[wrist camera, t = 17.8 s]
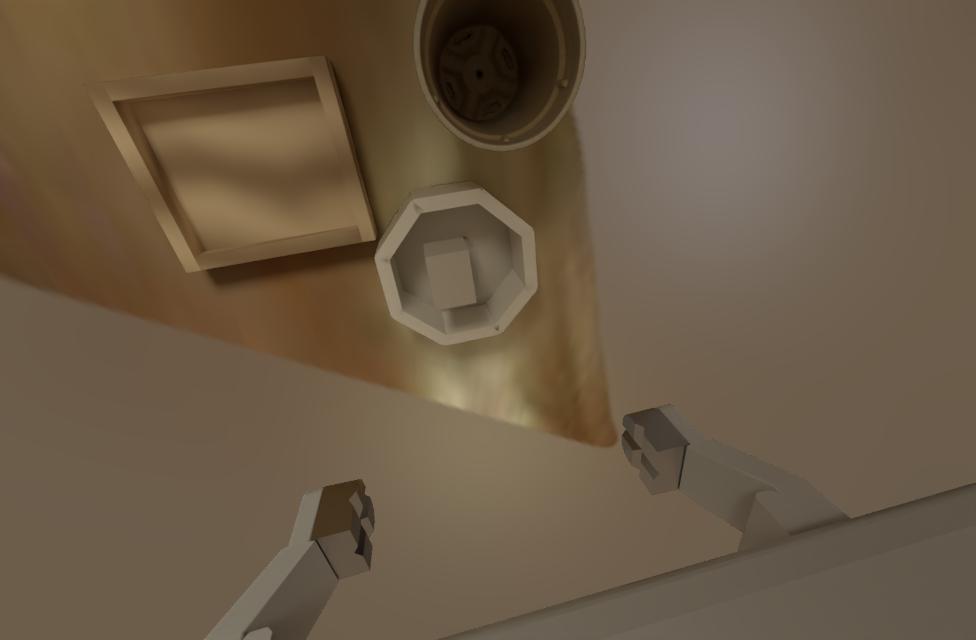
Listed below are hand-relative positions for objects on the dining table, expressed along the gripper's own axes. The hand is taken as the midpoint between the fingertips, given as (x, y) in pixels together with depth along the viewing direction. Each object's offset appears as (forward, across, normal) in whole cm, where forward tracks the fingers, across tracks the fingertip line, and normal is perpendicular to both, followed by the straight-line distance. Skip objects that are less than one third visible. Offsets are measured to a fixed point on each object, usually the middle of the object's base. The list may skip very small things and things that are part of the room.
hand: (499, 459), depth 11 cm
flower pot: (+24, -5, -12) cm, 28 cm away
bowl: (+24, -1, +1) cm, 24 cm away
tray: (+24, +12, -8) cm, 28 cm away
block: (+20, 0, 0) cm, 20 cm away
